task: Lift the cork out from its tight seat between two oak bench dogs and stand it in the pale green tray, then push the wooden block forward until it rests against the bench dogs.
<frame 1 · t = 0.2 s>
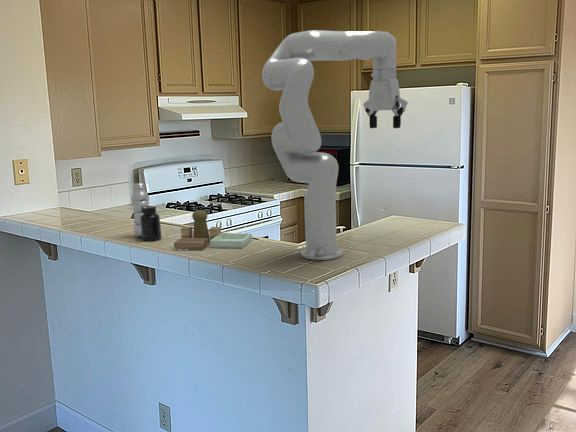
hand: (384, 128, 190), 37 cm above the countertop, tool pointing down, fingers open, 9 cm apart
supplement bottle: (151, 240, 206), on the countertop
cork: (201, 242, 200), on the countertop
wooden block: (192, 249, 191), on the countertop
tray: (231, 244, 194), on the countertop
bench dogs: (201, 241, 200), on the countertop
plastic bottle: (143, 237, 211), on the countertop
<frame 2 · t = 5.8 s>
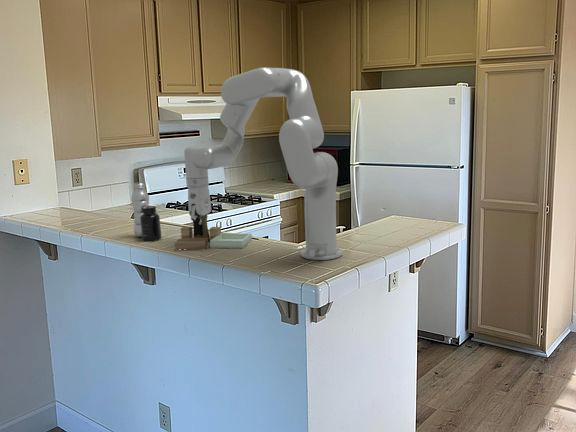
hand: (200, 233, 199), 3 cm above the countertop, tool pointing down, fingers closed on cork, 3 cm apart
cork: (201, 242, 200), on the countertop, touching gripper
everything else where it was.
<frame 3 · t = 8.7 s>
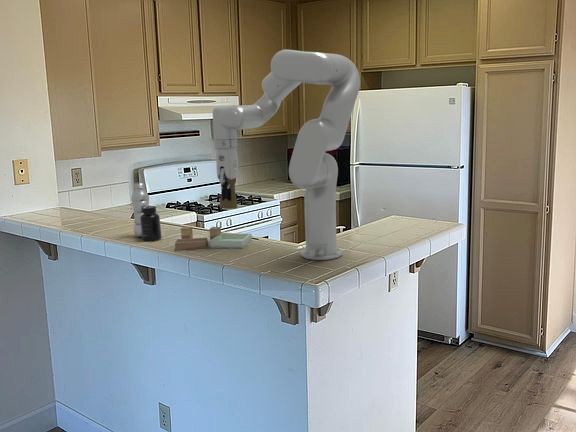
hand: (228, 199, 191), 16 cm above the countertop, tool pointing down, fingers closed on cork, 3 cm apart
cork: (228, 207, 192), point 13 cm above the countertop, touching gripper
everything else where it was.
when the fingers open (5 cm above the countertop, at t = 11.3 s): cork stays where it is, resting on tray.
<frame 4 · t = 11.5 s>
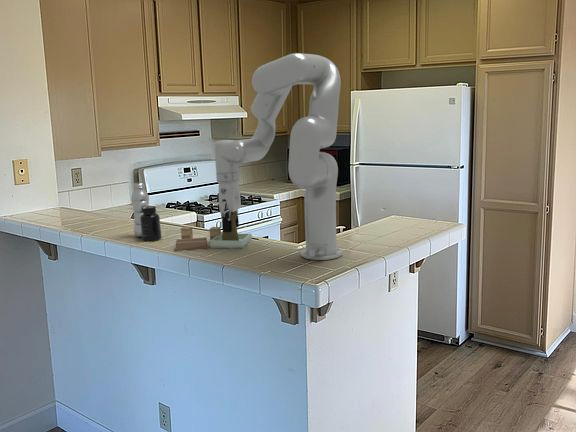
hand: (230, 229, 193), 5 cm above the countertop, tool pointing down, fingers open, 6 cm apart
cork: (230, 243, 194), resting on tray, touching gripper
everything else where it was.
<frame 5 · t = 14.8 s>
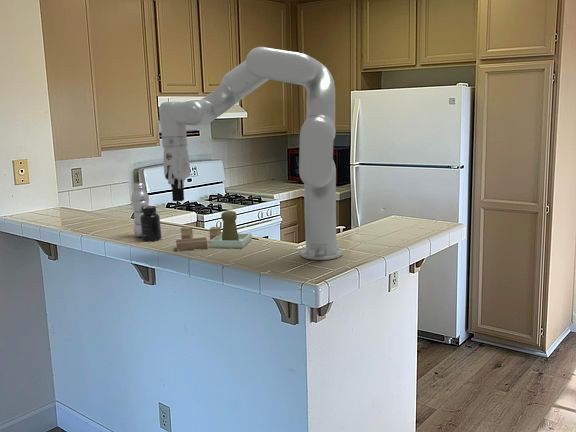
hand: (178, 200, 180), 18 cm above the countertop, tool pointing down, fingers closed
cork: (230, 243, 194), resting on tray
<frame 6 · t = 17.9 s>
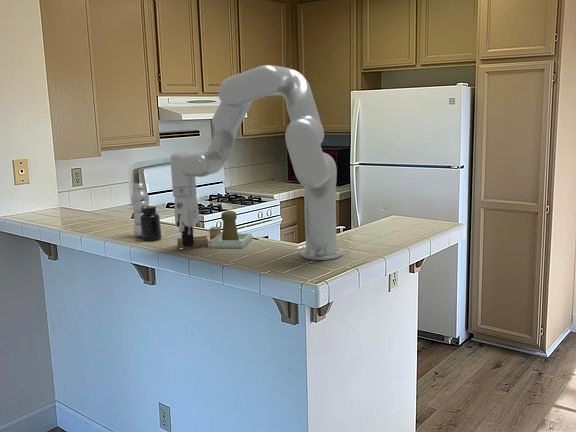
hand: (188, 245, 188), 1 cm above the countertop, tool pointing down, fingers closed
wooden block: (192, 247, 194), on the countertop
everything else where it was.
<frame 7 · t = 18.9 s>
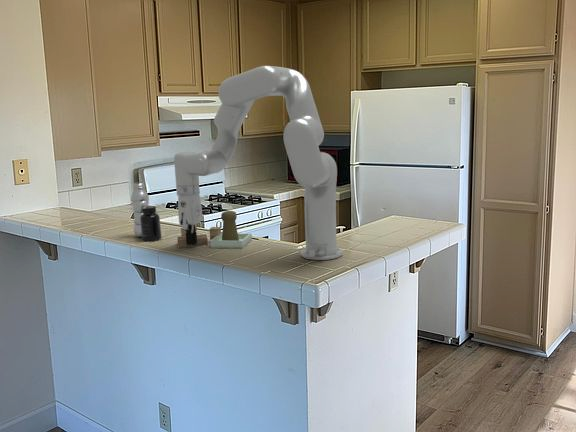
hand: (191, 243, 191), 1 cm above the countertop, tool pointing down, fingers closed
wooden block: (192, 245, 196), on the countertop
everything else where it was.
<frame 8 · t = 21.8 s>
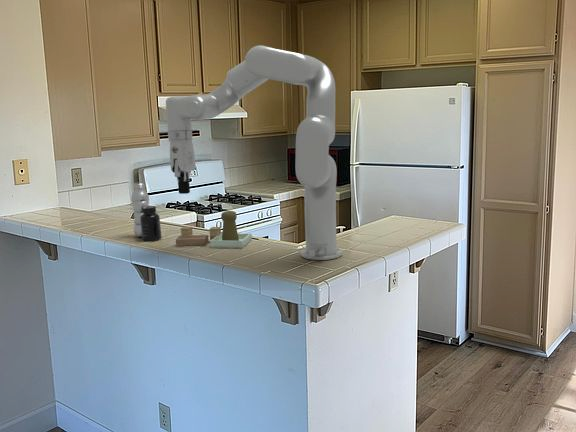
hand: (184, 193, 185), 19 cm above the countertop, tool pointing down, fingers closed
at the end: cork inside the target area on the tray (0.8 cm from its centre), point 0.4 cm above the tray's base; cork tilted 0°; wooden block 1.6 cm from the target spot, on the countertop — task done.
